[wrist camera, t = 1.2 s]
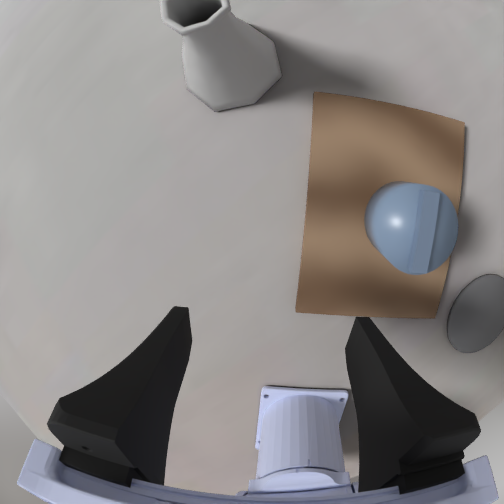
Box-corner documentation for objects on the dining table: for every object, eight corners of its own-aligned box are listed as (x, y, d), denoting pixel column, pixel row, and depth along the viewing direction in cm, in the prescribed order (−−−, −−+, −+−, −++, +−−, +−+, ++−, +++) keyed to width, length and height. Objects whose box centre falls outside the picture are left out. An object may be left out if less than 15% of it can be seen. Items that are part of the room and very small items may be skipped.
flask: (167, 55, 19) (101, 3, 10) (250, 10, 18) (229, -68, 8) (210, 129, 21) (155, 104, 11) (299, 82, 19) (309, 22, 10)
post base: (431, 314, 23) (445, 330, 20) (295, 307, 24) (296, 326, 21) (459, 123, 18) (479, 119, 16) (313, 94, 19) (317, 83, 16)
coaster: (494, 348, 23) (496, 350, 23) (436, 352, 24) (437, 355, 23) (518, 276, 21) (520, 277, 20) (460, 271, 22) (463, 273, 21)
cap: (425, 259, 19) (453, 280, 15) (359, 254, 19) (376, 275, 15) (436, 187, 17) (469, 193, 13) (368, 175, 18) (390, 178, 14)
